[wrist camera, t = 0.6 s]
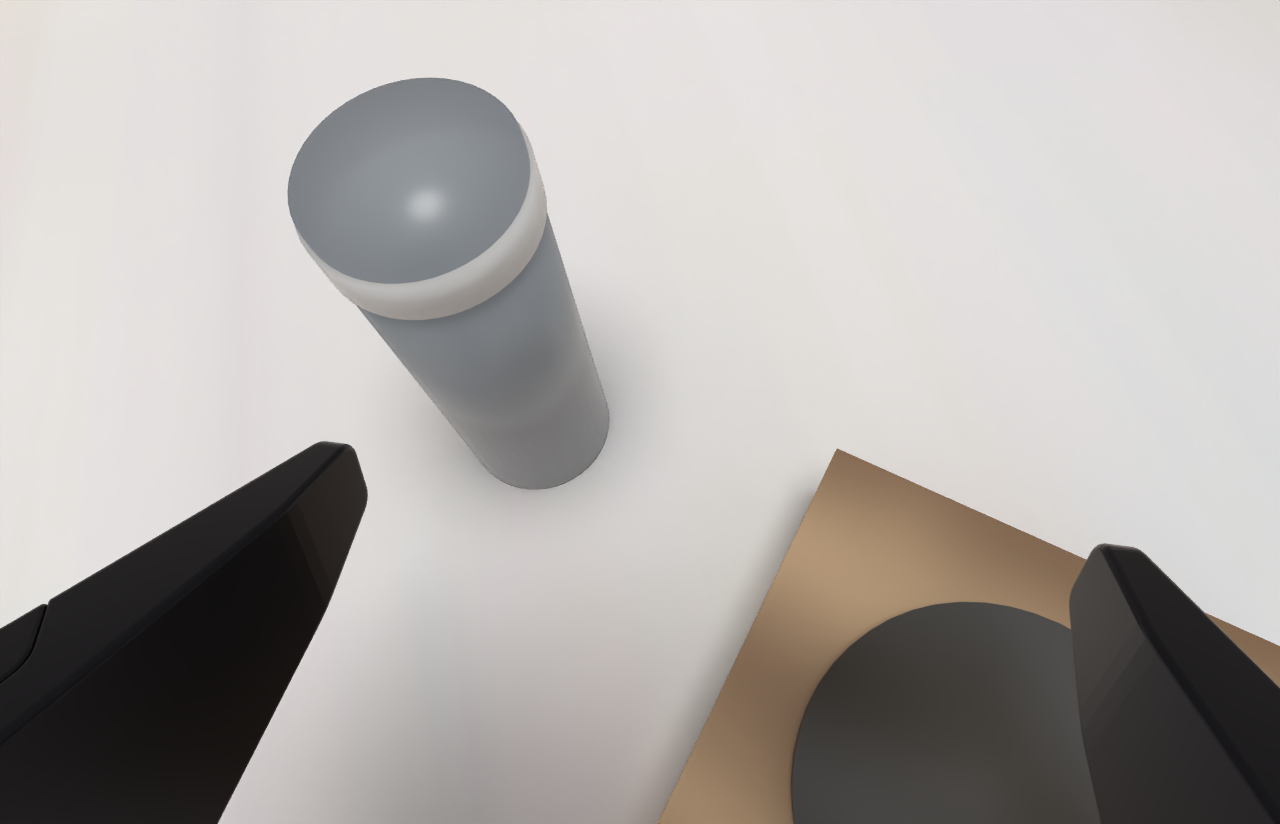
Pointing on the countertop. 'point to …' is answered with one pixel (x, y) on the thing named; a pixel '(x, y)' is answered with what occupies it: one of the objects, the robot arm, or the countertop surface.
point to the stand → (904, 674)
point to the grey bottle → (456, 269)
